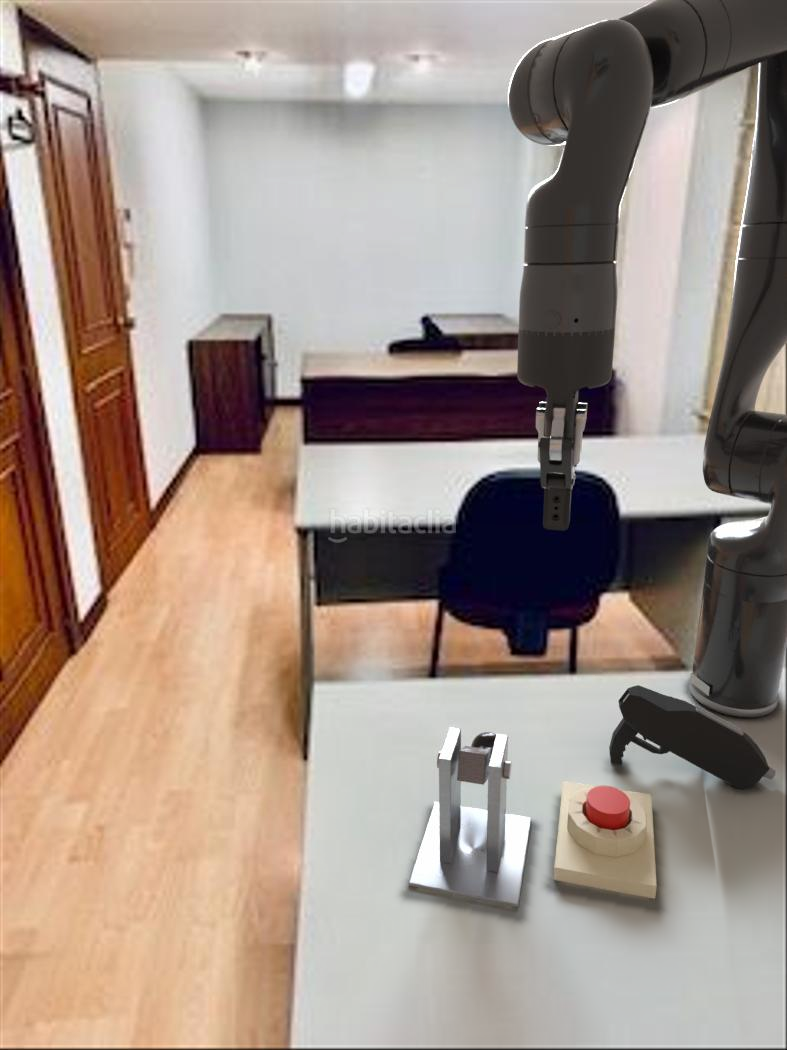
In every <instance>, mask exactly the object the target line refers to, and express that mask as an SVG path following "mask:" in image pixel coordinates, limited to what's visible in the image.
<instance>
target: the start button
mask: <svg viewBox="0 0 787 1050" xmlns="http://www.w3.org/2000/svg"><path fill="white" fill-rule="evenodd" d="M596 786H597V787H594V788H592V789H591V790H590V791H589V792H588V794H587V799H586V817H587V819H588V820H589V821H590V822H591V823H592V824H594V825H595V826H597V827H599V828H603V829H609V830H618V829H622V828H623V827H625V826H626V825H627V823H628V820H629V810H630V800H629V798H628V796H627V795H626V794H625V793H624V792H622V791H621V790H622V789H620V788H617V787H614V786H612V785H611V786H610V785H596Z"/></svg>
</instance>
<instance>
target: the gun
mask: <svg viewBox="0 0 787 1050" xmlns="http://www.w3.org/2000/svg"><path fill="white" fill-rule="evenodd" d="M618 707H619V711H620V714H621V715H622V719H621V720H620V722H618V725H617V726H616V727H615V729H614V731H613V732H612V735H611V738H610V743H609V746H608V748H609V750H608V751H609V759H610V764H618V765H622V764H623V760H622V759H623V758H624V752H626V750H627V749H626V748H627V747H626V746H629V744H631V743H633V744H634V745H637V746H638V747H641V748H642V749H644V750H646V751H648V752H650V753H652V754H655V755H656V754H657V755H664V754H665V755H666V754H668V753H672V754H674V755H675V756H677V757H679V758H681V759H683V760H685V761H686V762H688V763H690V764H692V765H694V766H696V767H698V768H700V769H701V770H703V771H705V772H707V773H709V774H711V775H713V776H715V778H719V779H720V780H722V781H724V782H726V783H728V784H729V785H731V786H733V787H734V788H737V789H739V790H740V791H741V790H748V789H753V788H754V787H755V786H756V785H757V784H758V783H759V782H760V780H761V779H762V778H764V779H768V780H773V779H775V777H776V775H777V772H776V770H775V769H774V768H773V767H772V766H770V765H769V764H768V761H767V757H765V756H766V755H765V754H764V753H763V752H762V750H761V749H760V747H759V745H758V744H757V743H756V741H754V740H753V738H752V737H750V735H748V733H746V732H744V731H743V729H742V728H740V727H738V726H736V725H735V724H733V723H731V722H729V721H727V720H726V719H724V718H721V717H720V716H718V715H716V714H714V713H712V712H710V711H708V710H707V709H705V708H703V707H701V706H699V705H694V704H692V703H690V702H688V701H686V700H683V699H679V698H676V697H674V696H669V695H666V694H663V693H660V692H658V691H655V690H653V689H650V688H647V687H645V686H641V685H639V684H638V685H634V686H630V687H627V688H626V690H625V691H624V693H623V694H622V695H621V697H620V698H619V699H618ZM638 734H639V735H640V736H641V737H642V738H640V737H638V736H637V735H638ZM648 741H649V742H651V743H653V744H651V743H649V742H648ZM654 744H655V745H656V746H655V745H654ZM658 746H659V747H658Z"/></svg>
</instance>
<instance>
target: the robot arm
mask: <svg viewBox="0 0 787 1050" xmlns="http://www.w3.org/2000/svg"><path fill="white" fill-rule="evenodd" d="M756 65H758V77H757V81H758V82H757V97H756V98H757V100H756V114H755V124H754V133H753V143H752V152H751V159H750V167H749V173H748V174H749V175H748V183H747V190H746V196H745V201H744V207H743V213H742V220H741V223H740V224H741V226H740V229H739V230H740V231H739V236H738V237H739V238H738V246H737V252H736V260H735V268H734V269H735V270H734V277H733V286H732V287H733V288H732V294H731V295H732V296H731V304H730V313H729V321H728V328H727V332H726V338H725V339H726V341H725V347H724V353H723V357H722V362H721V366H720V372H719V376H718V380H717V385H716V390H715V394H714V398H713V403H712V407H711V411H710V412H711V413H710V417H709V421H708V425H707V430H706V436H705V440H704V446H703V454H702V462H701V463H702V478H703V481H704V484H705V486H706V487H707V489H709V490H710V491H711V492H714V493H717V494H721V495H725V496H729V497H735V498H738V499H743V500H748V501H753V502H757V503H763V504H768V505H769V510H768V515H767V516H764V517H760V518H754V519H744V520H737V521H730V522H727V523H723V524H720V525H719V526H716V528H714V529H713V530H712V532H711V533H710V536H709V539H708V545H707V554H706V562H705V563H706V564H705V570H704V571H705V572H704V579H703V586H702V587H703V588H702V595H701V602H700V610H699V616H698V617H699V619H698V626H697V633H696V640H695V641H696V642H695V649H694V656H693V664H692V670H691V671H692V672H690V677H689V692H690V694H691V695H692V697H693V698H694V699H695V700H696V701H698V702H699V703H700V704H701V705H703V706H705V707H706V708H708V709H711V710H712V711H714V712H717V713H720V714H724V715H728V716H732V717H737V718H759V717H763V716H767V715H769V714H770V713H772V712H773V711H775V710H776V708H777V706H778V703H779V701H778V700H779V690H780V685H781V678H782V673H783V669H784V662H785V657H786V650H787V414H786V413H776V412H769V411H760V410H756V403H757V399H758V395H759V391H760V388H761V385H762V383H763V380H764V378H765V376H766V374H767V372H768V370H769V368H770V367H771V365H772V363H773V361H774V360H775V359H776V357H777V356H778V354H779V353H780V352H781V350H782V349H783V348H784V346H785V345H786V344H787V0H653V1H651V2H649V3H647V4H645V5H643V6H641V7H639V8H638V9H636V10H634V11H631V12H630V13H627V14H625V15H624V16H621V17H619V18H614V19H613V18H612V19H605V20H601V21H597V22H595V23H592V24H589V25H586V26H584V27H581V28H578V29H575V30H572V31H569V32H566V33H563V34H560V35H558V36H554V37H552V38H549V39H546V40H543V41H541V42H539V43H537V44H536V45H535V46H533V47H532V48H531V49H529V50H528V51H527V52H526V53H525V54H524V55H523V56H522V58H521V59H520V60H519V62H518V63H517V65H516V67H515V69H514V71H513V73H512V76H511V78H510V82H509V86H508V91H507V106H508V110H509V111H508V112H509V115H510V118H511V120H512V122H513V124H514V127H516V129H517V130H518V132H519V133H521V135H523V137H525V138H526V139H528V140H529V141H531V142H533V143H536V144H538V145H542V146H548V147H549V146H551V147H554V146H555V147H556V146H564V147H563V151H562V154H561V157H560V161H559V164H558V168H557V169H556V171H555V172H554V174H553V175H551V176H550V177H549V178H546V179H545V180H543V181H541V182H540V183H538V184H536V185H535V186H534V187H533V188H532V189H531V190H530V192H529V194H528V195H527V200H526V205H525V217H524V219H525V220H524V239H523V240H524V242H523V244H524V246H523V263H524V264H523V271H522V278H521V282H520V283H521V284H520V289H519V300H518V301H519V302H518V303H519V304H518V305H519V306H518V333H517V335H518V337H517V368H516V369H517V370H516V371H517V372H516V377H517V380H518V381H519V382H520V383H521V384H522V385H524V386H527V387H531V388H542V389H544V391H545V392H546V393H545V394H546V396H545V401H539V404H538V407H537V408H536V411H535V429H536V431H537V433H538V435H537V436H538V437H537V439H538V440H537V461H538V463H540V464H539V468H540V469H539V471H540V476H539V483H540V488H542V489H543V511H542V512H543V513H542V527H543V528H544V529H545V530H548V531H549V530H550V531H566V530H568V529H569V528H570V527H569V526H570V521H571V504H572V490H573V486H575V480H576V473H575V470H576V468H577V467H578V464H579V463H580V461H581V460H580V459H581V454H582V447H583V432H584V431H585V428H586V423H587V417H588V416H587V415H588V402H579V391H580V390H581V389H589V390H590V389H595V388H600V387H603V386H605V385H607V384H608V383H610V381H611V380H612V376H613V363H614V349H615V336H616V324H617V323H616V322H617V311H618V308H617V307H618V276H617V275H618V274H617V259H618V246H619V245H618V243H619V230H620V221H621V220H620V219H621V218H620V217H621V216H620V215H621V205H622V201H623V197H624V195H625V192H626V189H627V186H628V184H629V181H630V177H631V175H632V171H633V168H634V164H635V161H636V157H637V154H638V151H639V148H640V144H641V142H642V139H643V135H644V132H645V129H646V125H647V122H648V119H649V115H650V112H651V109H654V108H658V107H663V106H666V105H669V104H672V103H675V102H677V101H680V100H682V99H684V98H687V97H689V96H691V95H693V94H695V93H698V92H700V91H703V90H705V89H707V88H710V87H711V86H713V85H716V84H718V83H721V82H722V81H724V80H726V79H728V78H731V77H732V76H735V75H737V74H739V73H741V72H743V71H745V70H748V69H750V68H752V67H755V66H756Z"/></svg>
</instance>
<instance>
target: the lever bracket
mask: <svg viewBox="0 0 787 1050" xmlns="http://www.w3.org/2000/svg"><path fill="white" fill-rule="evenodd" d="M495 734H496V738H495V742H494V746H493V750H492V754H491V758H490V762H489V766H488V779H487V809H483V808H477V807H470V806H464V805H462V804H461V803H462V797H461V795H462V791H461V790H462V781H457V773H458V762H459V751H460V750H461V749H462V728H458V727H453V726H452V727H451V726H450V727H449V728H448V731H447V734H446V737H445V739H444V743H443V746H442V749H441V750H439V751H438V753H437V756H436V757H437V758H436V768H437V769H438V801H434V803H433V807H432V810H431V813H430V816H429V819H428V822H427V825H426V828H425V831H424V834H423V837H422V840H421V844H420V847H419V849H418V853H417V856H416V859H415V862H414V865H413V868H412V872H411V874H410V878H409V881H408V886H409V887H412V888H418V889H424V890H428V891H434V892H438V893H443V894H448V895H454V896H459V897H462V898H469V899H474V900H477V901H478V900H479V901H483V902H489V903H493V904H499V905H503V906H507V907H508V906H509V907H514V908H519V904H520V899H521V890H522V883H523V878H524V871H525V864H526V858H527V851H528V844H529V838H530V832H531V831H530V830H531V825H532V817H530V816H523V815H518V814H512V813H507V791H508V790H507V789H508V787H507V784H508V780H510V779H511V775H512V761H510V760H508V759H509V758H508V757H509V755H508V753H509V752H508V751H509V735H507V734H501V733H495Z"/></svg>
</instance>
